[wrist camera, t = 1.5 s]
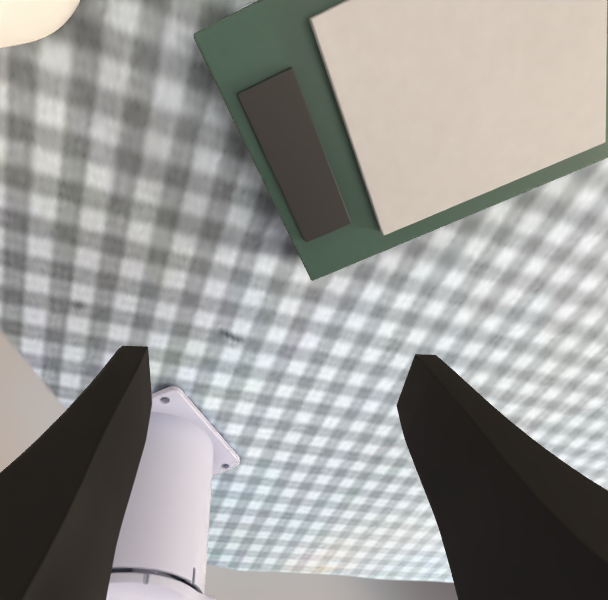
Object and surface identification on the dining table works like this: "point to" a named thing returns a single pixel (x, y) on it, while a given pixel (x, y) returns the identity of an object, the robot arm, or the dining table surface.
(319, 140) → the scale
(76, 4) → the can
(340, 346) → the dining table surface
